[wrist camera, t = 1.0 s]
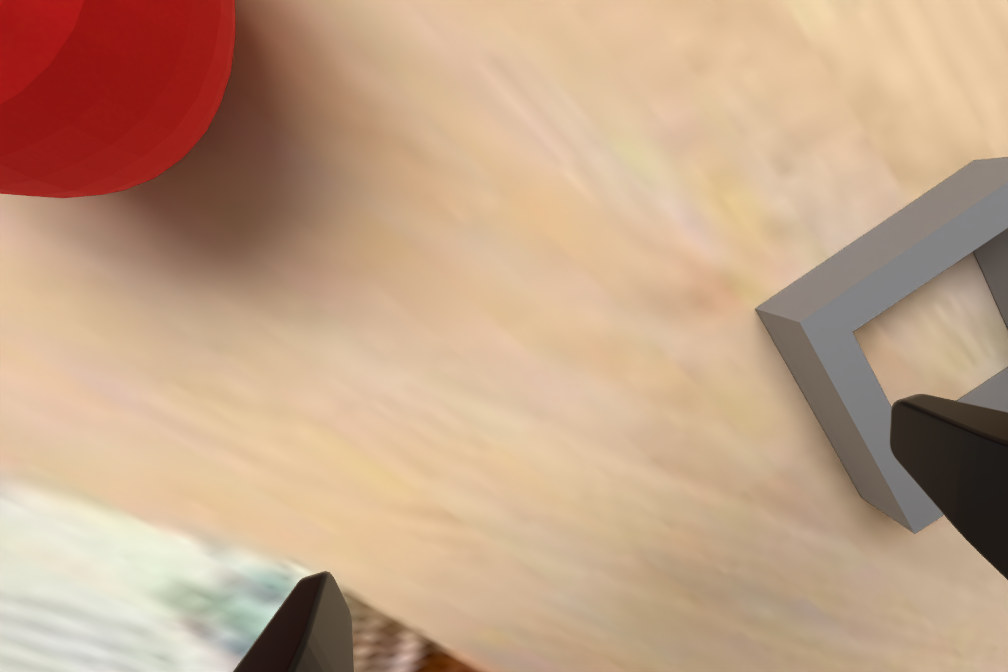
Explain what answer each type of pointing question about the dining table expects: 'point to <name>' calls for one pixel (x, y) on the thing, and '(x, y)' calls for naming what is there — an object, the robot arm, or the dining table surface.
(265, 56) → the dining table surface
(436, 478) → the dining table surface
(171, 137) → the tomato
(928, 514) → the block
